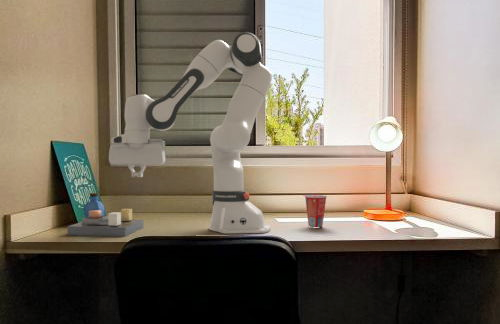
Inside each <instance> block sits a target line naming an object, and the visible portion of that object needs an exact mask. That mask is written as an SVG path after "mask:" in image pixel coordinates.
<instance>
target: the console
mask: <svg viewBox="0 0 500 324" xmlns="http://www.w3.org/2000/svg"><path fill="white" fill-rule="evenodd" d="M141 228H142V229H143V228H144V219H135V218H134V219H133V218H132V220H130V221H121V224H120V225H117V226H112V225H108V215H105V216H101V218H99V219H89V217H86V218H83V217H82V218H81V222H78V223H74V224H70V225H68V226H67V236H79V237H80V236H81V237H82V236H84V237H85V236H86V237H89V236H90V237H122V236H125V237H127V236H130V235H131V234H134V233H135V231H136V232H137V230H138V231H140V230H142V229H141ZM139 229H140V230H139ZM133 232H134V233H133Z"/></svg>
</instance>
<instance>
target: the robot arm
mask: <svg viewBox="0 0 500 324" xmlns="http://www.w3.org/2000/svg"><path fill="white" fill-rule="evenodd" d="M261 61H262V46H261V43H260V40H259V38H258V37H257V36H256V35H255V34H254V33H252V32H249V31H243V32H241V33H239V34H237V35H236V36H235V37H234V39H233V40H232V43H231V45H230V44H228V43H226V42H224V40H221V39H215V40H213V41H211V42H210V43H209V44H208V45H206V46H205V47H204V48H203V49H202V50H201V51H200V52H199V53H198V54H197V55H196V56H195V57H194V58H193V59H192V61H191V62H190V64H188V67H187V68H186V70H185V72H184V73H183V75H182V77H181V79H180V80H179V81H178V82H177V83H176V84H175V85H174V86H173V87H172V88H171V89H170V90H169V91H168V92H167V94H165V95H164V96H162V97H160V98H158V99H156V100H155V99H153V98H151V97H150V96H149V95H147V94H145V93H139V94H138V93H137V94H133V95H130V96H128V97H127V98H126V100H125V105H124V121H125V126H124V127H125V128H124V133H122V134H120V135H119V134H118V135H117V136H114V137H111V138H110V143H111V145H110V147H109V152H108V162H109V164H110V165H128V169H129V170H130V173H131V178H143V177H144V171H146V168H147V165H164V164H165V163H166V153H165V152H166V151H165V150H166V141H164V140H162V139H161V138H159V139H158V138H157V139H156V138H151V129H153V130H157V131H161V132H163V131H164V132H165V131H168V130H170V129H171V128H173V126H174V125H175V122H176V118H177V115H178V112H179V110H180V108H181V107H182V106H183V105H184V104H185V103H186V102H187V101H188V99H189V98H190V97H191V96H192V95H193V94H194V93H196V92H197V91H199V90H202V89H206V88H208V87H209V86H210V85H211V84H213V83H214V82H215V81H216V80H217V79H218V78H219V77H220V76H221V74H222V73H223V72H224V71H225V70H226V69H228V70H229V71H231V72H233V73H235V74H237V75H239V76H241V80H240V82H239V83H238V86H237V88H236V89H235V91H234V94H233V95H232V97H231V100H230V101H229V104H228V107H227V112H226V114H225V117H224V119H223V121H222V124H220V125H218V126H216V127H214V128H213V130H212V132H211V134H210V136H209V141H210V142H209V143H210V149H211V159H212V167H213V190H212V193H211V203H212V204H211V205H212V212H211V219H210V225H209V227H208V228H209V230H210V231H213V232H218V233H221V234H258V233H259V234H264V233H268V232H269V231H271V225H269V224H268V223H265V217H264V214H263V212H262V210H261V209H260V208H258V207H257V206H256V205H255V204H253V203H252V202H250V201H249V199H250V192H247V191H245V190H244V187H245V186H244V180H245V179H244V178H245V177H244V175H245V174H244V167H243V164H242V159H241V154H240V153H241V151H242V150H244V149H246V147H247V146H248V145H249V143H250V140H251V134H252V131H253V127H254V124H255V121H256V118H257V116H258V113H259V111H260V109H261V107H262V105H263V103H264V101H265V99H266V97H267V94H268V92H269V88H270V87H271V83H272V77H273V75H272V72H271V70H269V68H268V67H266V66H265V65H263V64H262V63H261ZM135 165H140V166H139V168H140V171H135V169H134V168H135Z"/></svg>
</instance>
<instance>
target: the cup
mask: <svg viewBox="0 0 500 324" xmlns="http://www.w3.org/2000/svg"><path fill="white" fill-rule="evenodd" d="M301 196H303V197H305V205H306V216H307V223H308V224H307V225H308V227H309V226H310V227H322V228H323V227H324V216H325V211H326V209H325V208H326V203H327V197H328V196H327V195H324V194H323V195H322V194H303V195H301Z"/></svg>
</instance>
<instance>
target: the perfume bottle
mask: <svg viewBox="0 0 500 324" xmlns="http://www.w3.org/2000/svg"><path fill="white" fill-rule="evenodd" d="M88 199H89V201H87V202H86V203H85V205H84V206H83V208H82V211H83V210H84V215H85V218H86V217H89V211H92V210H101V216H106V212H105V206H104V204H103V202H102V201H101V200H99V193H98V192H91V193H90V192H89V196H88Z"/></svg>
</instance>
